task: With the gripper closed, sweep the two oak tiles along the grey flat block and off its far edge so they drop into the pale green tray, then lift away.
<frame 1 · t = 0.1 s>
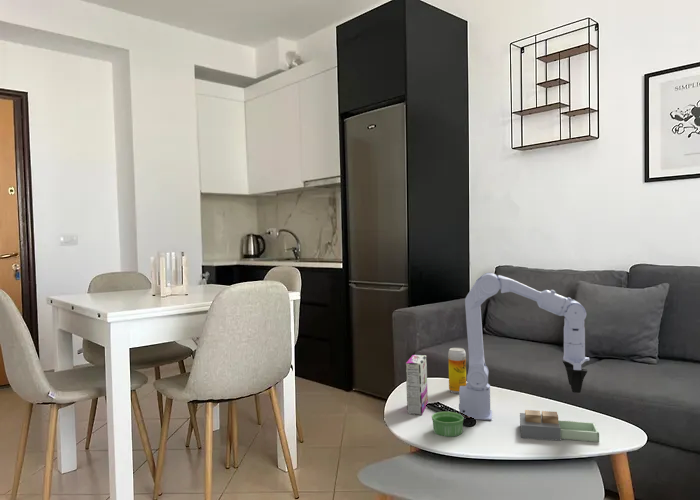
hand: (574, 388, 155), 10 cm above the table, tool pointing down, fingers open, 7 cm apart
ramekin: (447, 432, 150), on the table
oak tile 2: (549, 420, 147), point 3 cm above the table, touching grey flat block
beer glass: (457, 391, 188), on the table
tray: (577, 435, 145), on the table
grey flat block: (539, 432, 148), on the table
oak tile 1: (532, 419, 148), point 3 cm above the table, touching grey flat block
candy bar box: (417, 409, 170), on the table
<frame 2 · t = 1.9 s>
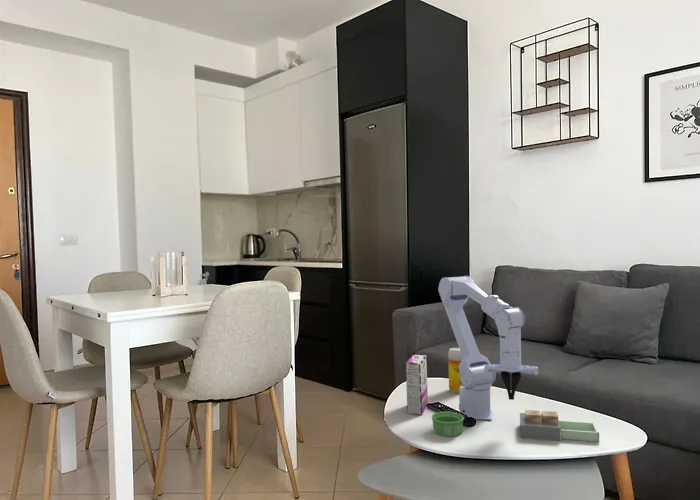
hand: (511, 398, 150), 9 cm above the table, tool pointing down, fingers closed
nothing on the table moved.
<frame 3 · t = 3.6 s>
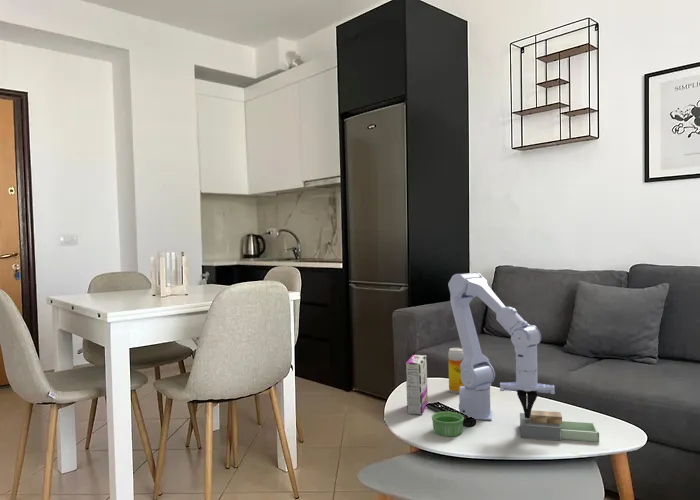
hand: (527, 417, 149), 4 cm above the table, tool pointing down, fingers closed
oak tile 2: (553, 421, 147), point 4 cm above the table, touching oak tile 1, grey flat block
oak tile 1: (538, 420, 148), point 4 cm above the table, touching oak tile 2, gripper, grey flat block
everything else where it was.
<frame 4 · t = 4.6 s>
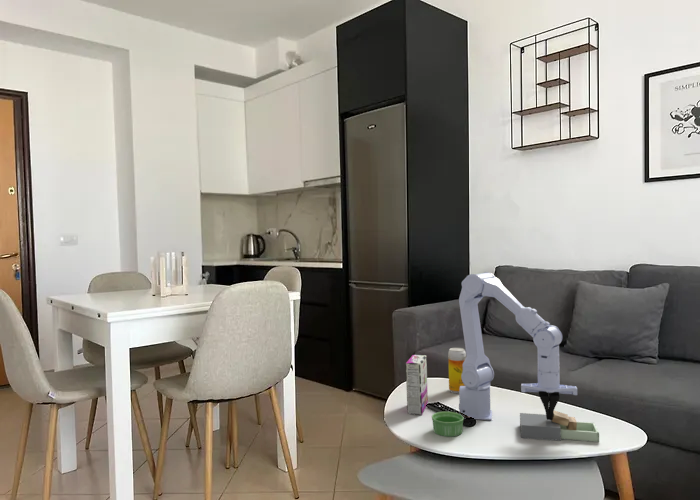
hand: (549, 418, 147), 4 cm above the table, tool pointing down, fingers closed
oak tile 2: (567, 425, 146), point 2 cm above the table, tilted 93°, touching oak tile 1, tray
oak tile 1: (559, 421, 147), point 4 cm above the table, tilted 15°, touching oak tile 2, gripper
everything else where it was.
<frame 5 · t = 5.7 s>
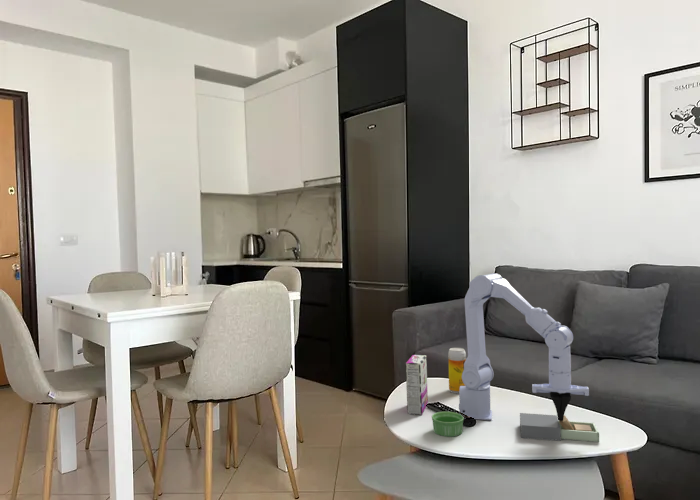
hand: (560, 419, 146), 4 cm above the table, tool pointing down, fingers closed
oak tile 2: (582, 427, 145), point 2 cm above the table, tilted 180°, touching tray
oak tile 1: (563, 427, 146), point 2 cm above the table, tilted 57°, touching gripper, tray
everything else where it was.
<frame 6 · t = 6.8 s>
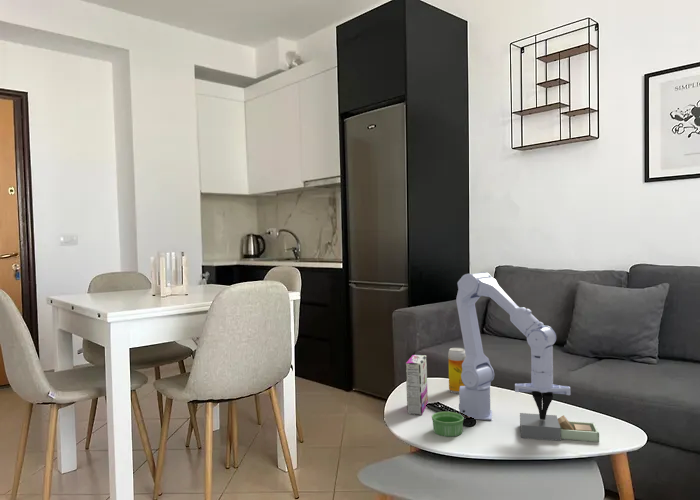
hand: (542, 418, 148), 4 cm above the table, tool pointing down, fingers closed
oak tile 1: (563, 427, 146), point 2 cm above the table, tilted 53°, touching grey flat block, tray
everything else where it was.
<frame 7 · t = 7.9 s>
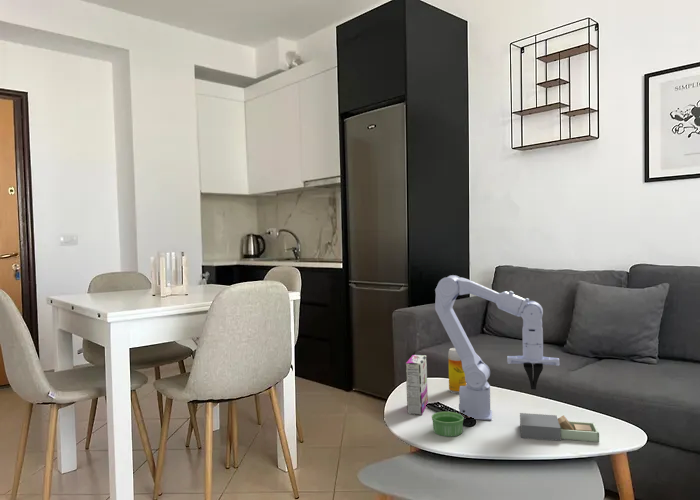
hand: (533, 388, 156), 10 cm above the table, tool pointing down, fingers closed
nothing on the table moved.
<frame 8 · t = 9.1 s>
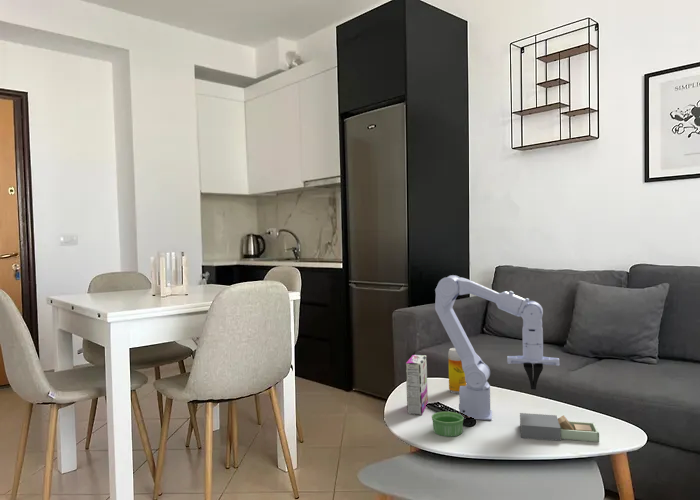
hand: (533, 388, 156), 10 cm above the table, tool pointing down, fingers closed
nothing on the table moved.
at the end: oak tile 2 inside the target area on the tray (1.3 cm from its centre), point 2.3 cm above the tray's base; oak tile 1 inside the target area on the tray (3.8 cm from its centre), point 1.9 cm above the tray's base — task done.
